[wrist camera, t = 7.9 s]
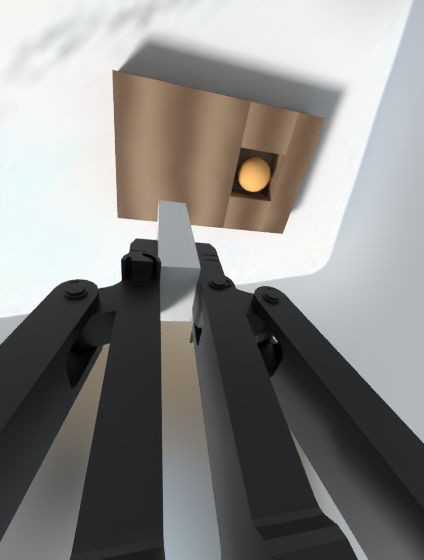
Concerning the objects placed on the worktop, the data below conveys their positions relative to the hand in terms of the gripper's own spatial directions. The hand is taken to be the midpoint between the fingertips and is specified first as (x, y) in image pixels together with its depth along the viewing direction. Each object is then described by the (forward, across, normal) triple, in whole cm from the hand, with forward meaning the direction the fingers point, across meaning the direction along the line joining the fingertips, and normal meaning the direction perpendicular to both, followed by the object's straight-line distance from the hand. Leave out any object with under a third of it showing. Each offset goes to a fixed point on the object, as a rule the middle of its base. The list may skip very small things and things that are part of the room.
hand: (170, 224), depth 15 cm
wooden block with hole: (+20, +6, 0) cm, 21 cm away
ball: (+18, +11, 0) cm, 21 cm away
